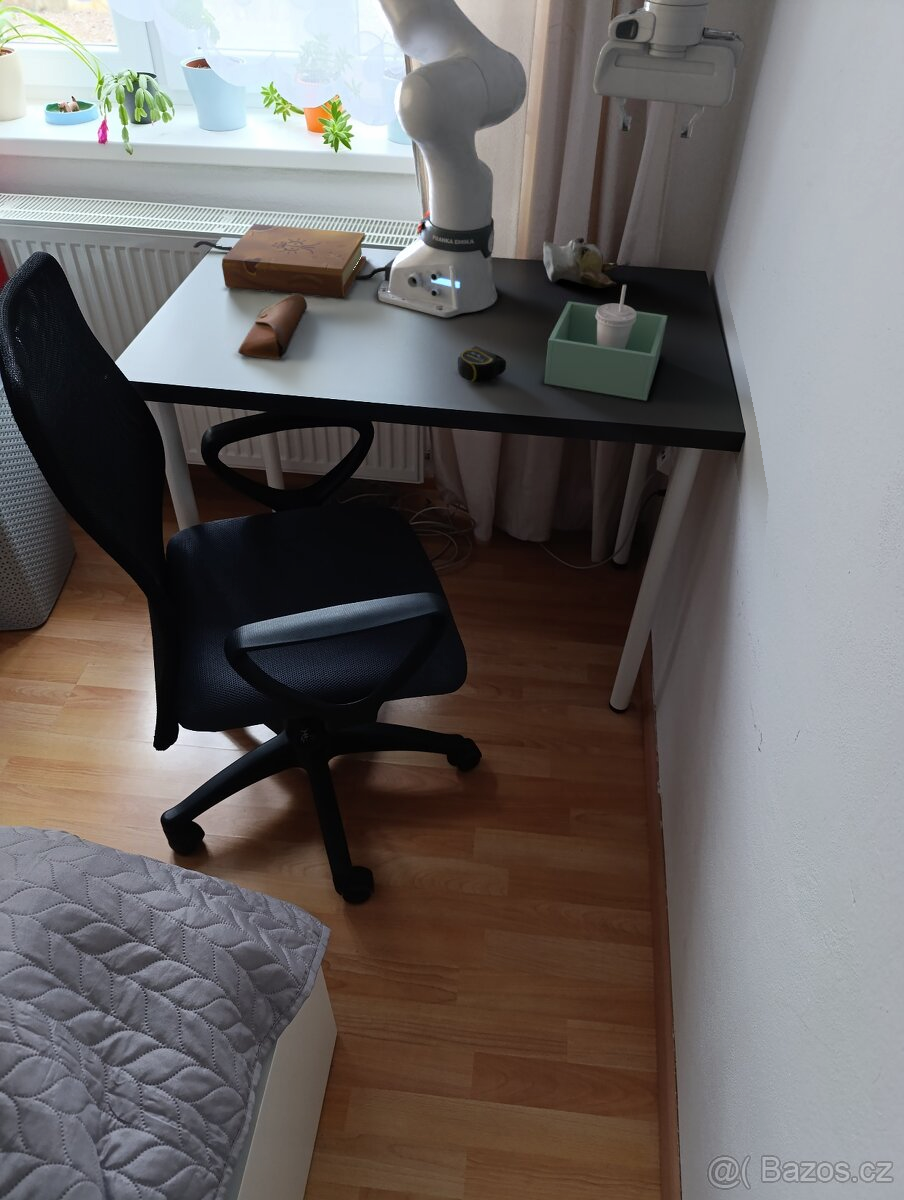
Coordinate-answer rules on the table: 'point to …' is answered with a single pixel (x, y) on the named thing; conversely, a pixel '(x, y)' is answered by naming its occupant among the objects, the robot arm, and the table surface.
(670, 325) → the table surface
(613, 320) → the smoothie
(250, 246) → the diary
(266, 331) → the sunglasses case
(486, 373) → the tape measure
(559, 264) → the ceramic sculpture
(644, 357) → the green open storage box
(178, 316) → the table surface
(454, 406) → the table surface
